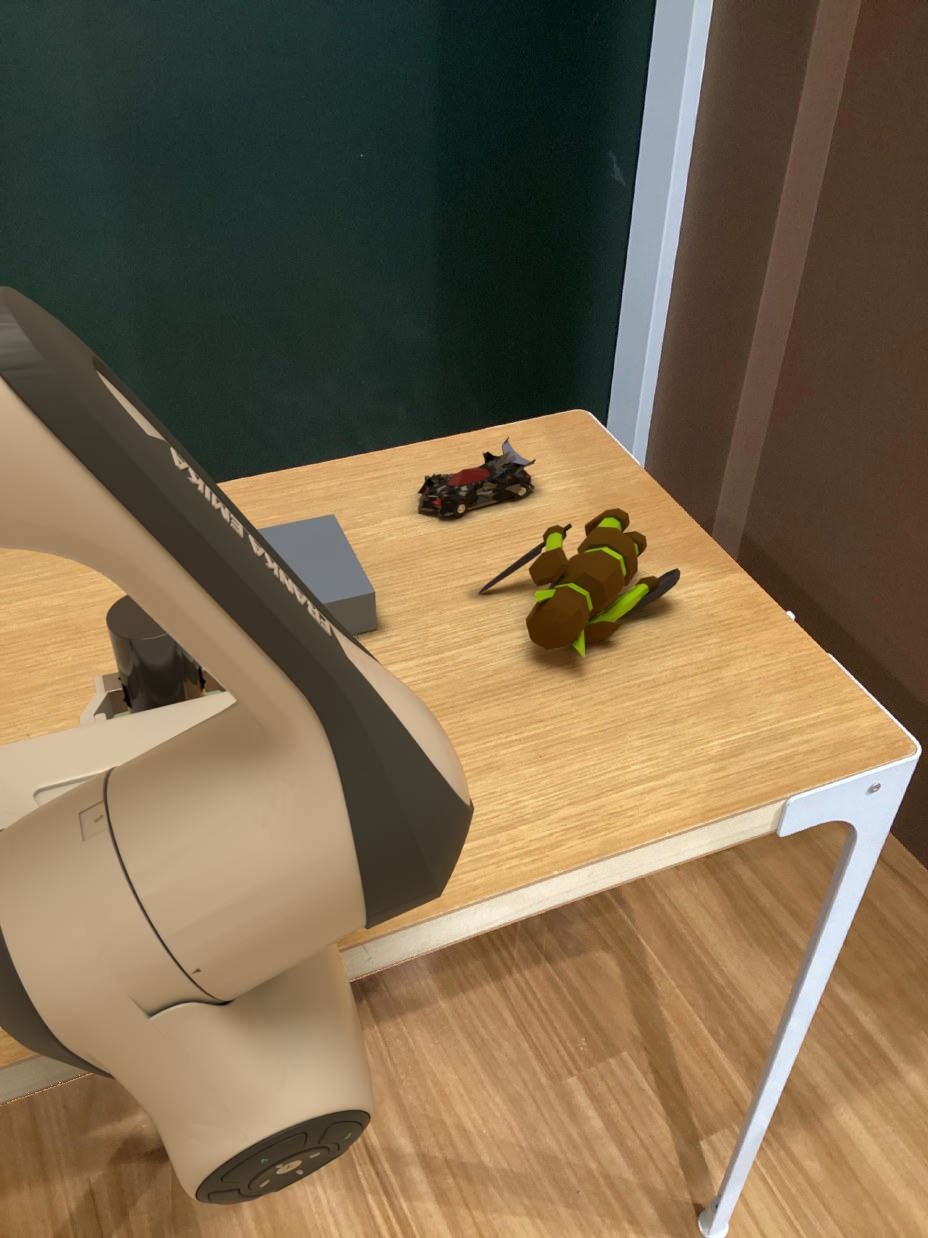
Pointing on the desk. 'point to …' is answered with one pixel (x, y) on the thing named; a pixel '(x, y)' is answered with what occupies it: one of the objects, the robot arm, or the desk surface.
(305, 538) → the low gray rectangular block
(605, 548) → the goblin
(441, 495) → the toy car
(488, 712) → the desk surface
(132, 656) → the glossy brown cylinder
